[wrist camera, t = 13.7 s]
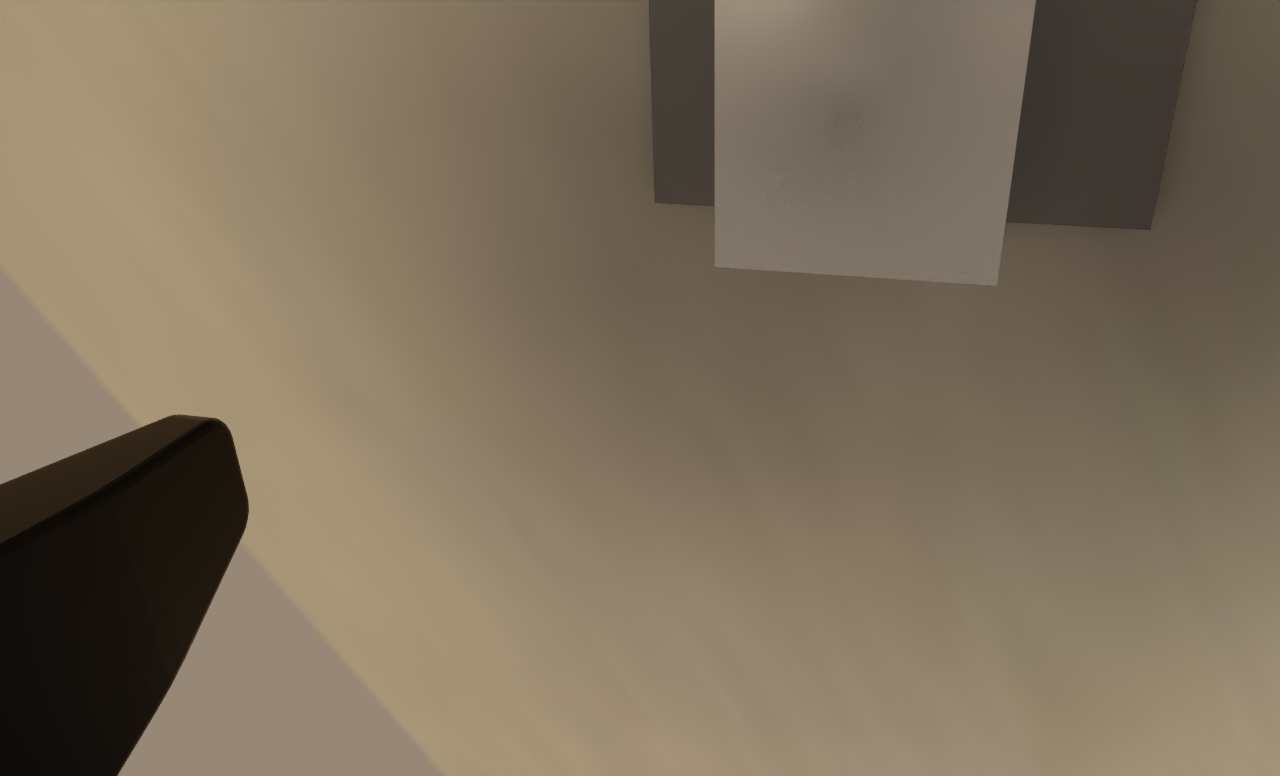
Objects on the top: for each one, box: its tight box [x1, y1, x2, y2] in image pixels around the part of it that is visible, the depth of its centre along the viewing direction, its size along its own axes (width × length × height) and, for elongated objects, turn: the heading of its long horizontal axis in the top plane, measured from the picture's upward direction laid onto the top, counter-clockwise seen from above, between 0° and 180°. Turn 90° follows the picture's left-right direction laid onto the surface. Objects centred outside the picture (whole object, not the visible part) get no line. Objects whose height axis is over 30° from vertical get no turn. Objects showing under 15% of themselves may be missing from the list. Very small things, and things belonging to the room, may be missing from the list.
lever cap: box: [715, 0, 1036, 286], centre depth 17 cm, size 4×4×3 cm
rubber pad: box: [649, 0, 1197, 230], centre depth 18 cm, size 8×6×1 cm
